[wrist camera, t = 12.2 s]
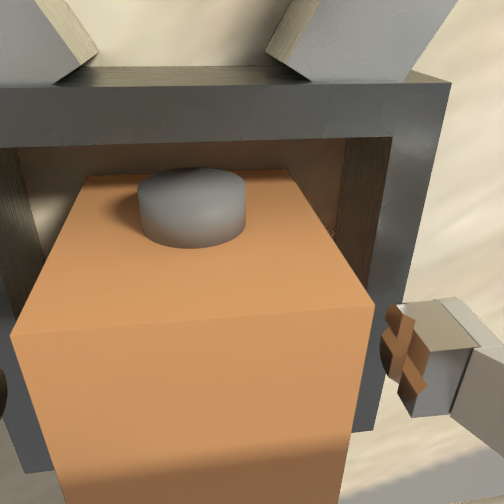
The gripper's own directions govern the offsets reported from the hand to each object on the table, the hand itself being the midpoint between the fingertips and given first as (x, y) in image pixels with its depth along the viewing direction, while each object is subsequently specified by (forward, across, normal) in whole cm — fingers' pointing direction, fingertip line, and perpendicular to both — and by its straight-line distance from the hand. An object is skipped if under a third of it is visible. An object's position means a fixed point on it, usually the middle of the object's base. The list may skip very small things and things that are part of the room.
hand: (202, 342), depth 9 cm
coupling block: (+4, 0, 0) cm, 4 cm away
